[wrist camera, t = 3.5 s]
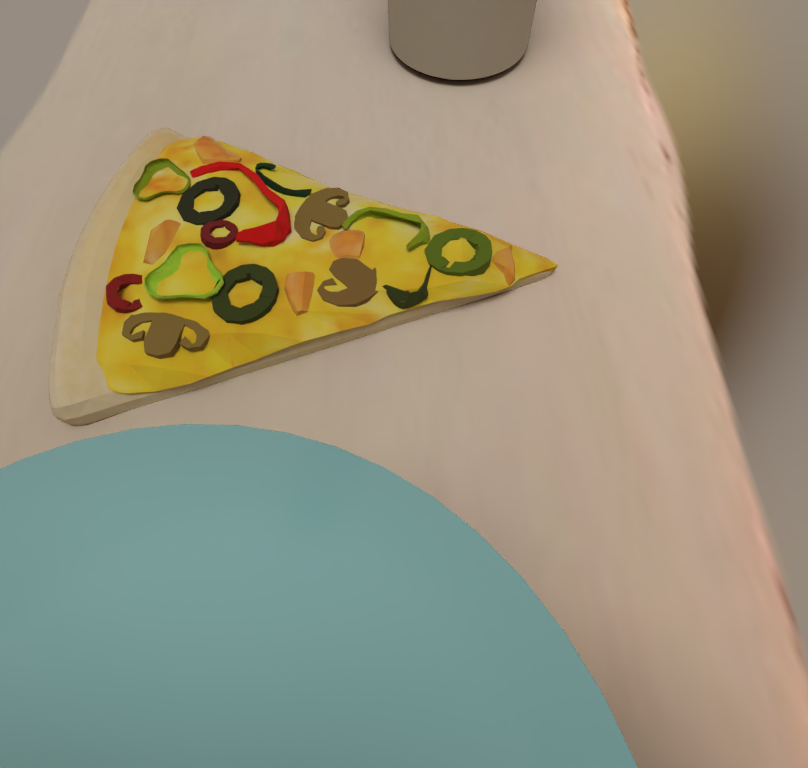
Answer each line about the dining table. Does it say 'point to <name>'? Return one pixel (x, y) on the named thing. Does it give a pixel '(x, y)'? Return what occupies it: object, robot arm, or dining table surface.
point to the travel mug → (460, 35)
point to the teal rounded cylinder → (269, 617)
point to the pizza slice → (245, 274)
